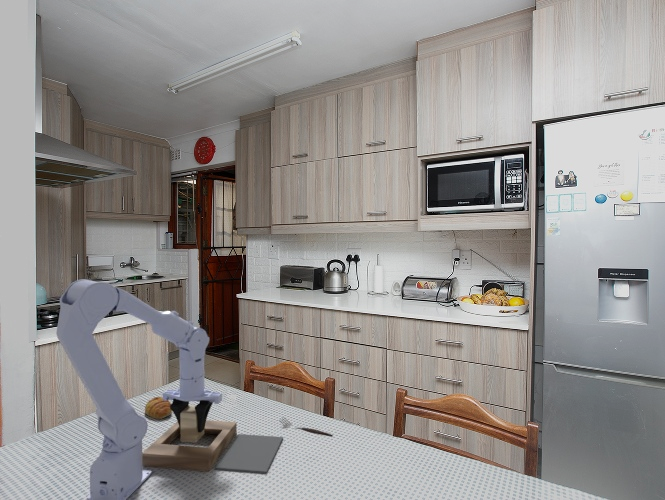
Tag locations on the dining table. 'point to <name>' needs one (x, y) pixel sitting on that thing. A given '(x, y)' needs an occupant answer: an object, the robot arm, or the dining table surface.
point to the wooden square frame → (189, 448)
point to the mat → (250, 453)
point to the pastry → (158, 408)
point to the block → (189, 425)
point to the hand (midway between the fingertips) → (192, 429)
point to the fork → (304, 428)
